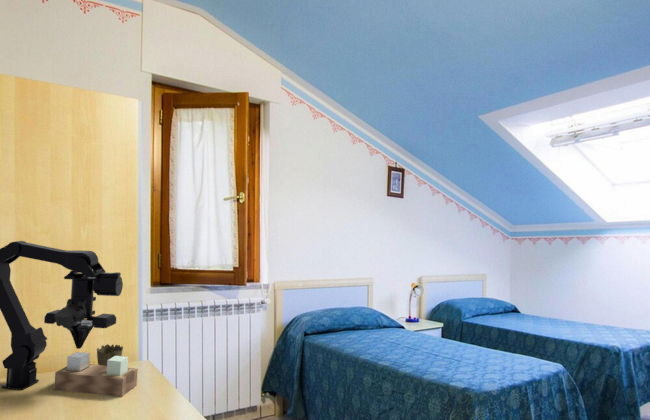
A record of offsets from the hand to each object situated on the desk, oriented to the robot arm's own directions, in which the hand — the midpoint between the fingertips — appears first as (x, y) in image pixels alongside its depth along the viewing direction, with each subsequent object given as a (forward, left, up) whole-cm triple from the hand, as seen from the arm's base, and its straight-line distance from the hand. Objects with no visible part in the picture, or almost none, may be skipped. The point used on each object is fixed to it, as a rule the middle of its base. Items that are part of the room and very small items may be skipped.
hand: (79, 348), depth 127 cm
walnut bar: (+6, 0, -11) cm, 12 cm away
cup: (+3, +11, -11) cm, 16 cm away
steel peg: (0, 0, -7) cm, 7 cm away
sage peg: (+12, 0, -7) cm, 14 cm away
